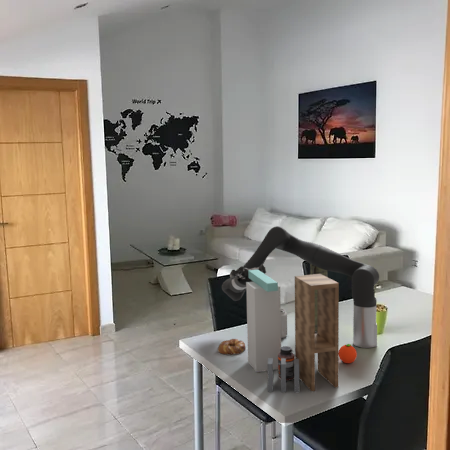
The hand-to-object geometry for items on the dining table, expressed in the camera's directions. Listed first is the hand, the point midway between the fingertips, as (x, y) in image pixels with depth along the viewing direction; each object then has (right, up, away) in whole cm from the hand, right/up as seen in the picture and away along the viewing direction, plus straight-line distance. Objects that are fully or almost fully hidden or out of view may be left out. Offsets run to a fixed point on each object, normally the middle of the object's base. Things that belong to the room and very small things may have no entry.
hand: (252, 267), depth 201 cm
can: (+13, -33, +24) cm, 43 cm away
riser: (+4, -37, -6) cm, 38 cm away
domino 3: (+14, -40, -27) cm, 50 cm away
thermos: (+32, -31, +31) cm, 54 cm away
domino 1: (+5, -40, -26) cm, 48 cm away
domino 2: (+9, -40, -26) cm, 48 cm away
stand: (+22, -39, -21) cm, 49 cm away
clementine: (+37, -36, -6) cm, 52 cm away
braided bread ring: (-8, -36, +10) cm, 38 cm away
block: (+3, -5, -10) cm, 12 cm away
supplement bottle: (+11, -39, -18) cm, 44 cm away
